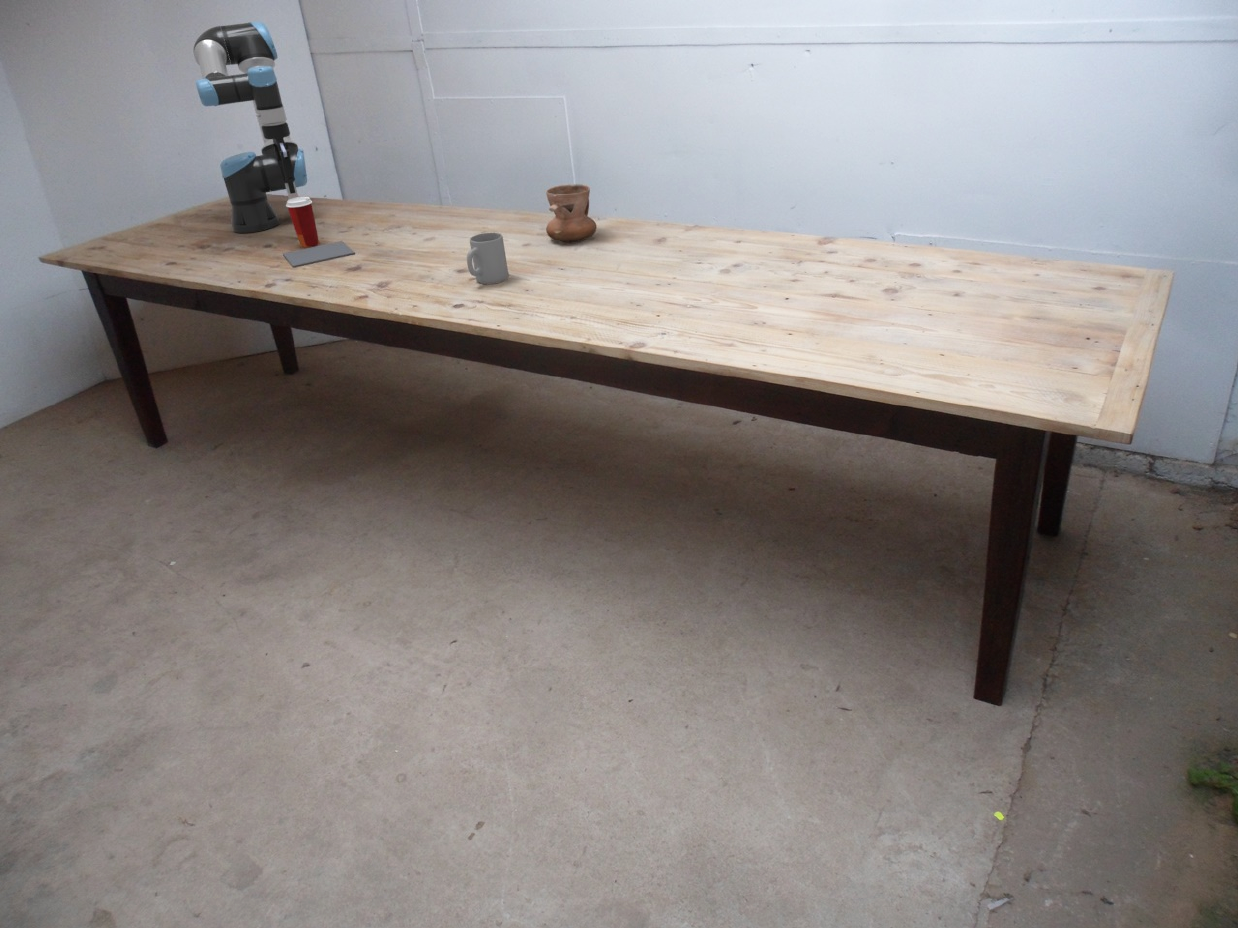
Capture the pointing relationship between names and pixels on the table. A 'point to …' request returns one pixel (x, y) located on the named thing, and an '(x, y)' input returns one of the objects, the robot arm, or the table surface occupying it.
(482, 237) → the mug
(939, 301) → the table surface
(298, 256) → the rubber mat
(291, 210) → the paper cup
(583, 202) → the ceramic jug
